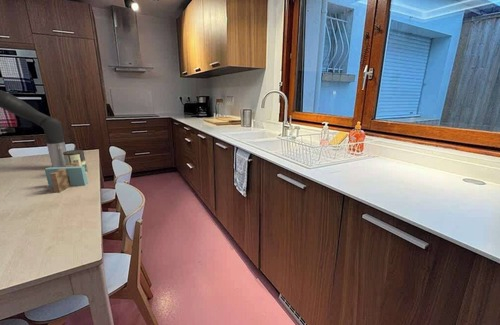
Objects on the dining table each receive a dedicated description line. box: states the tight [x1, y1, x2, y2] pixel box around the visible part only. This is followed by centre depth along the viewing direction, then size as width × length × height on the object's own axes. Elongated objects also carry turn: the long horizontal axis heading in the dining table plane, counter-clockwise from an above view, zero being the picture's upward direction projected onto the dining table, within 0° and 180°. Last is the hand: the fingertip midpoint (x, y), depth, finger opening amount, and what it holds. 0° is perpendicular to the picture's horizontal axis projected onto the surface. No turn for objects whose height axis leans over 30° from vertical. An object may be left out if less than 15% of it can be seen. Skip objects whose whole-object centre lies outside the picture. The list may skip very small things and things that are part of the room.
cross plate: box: [44, 166, 89, 188], centre depth 128 cm, size 3×18×10 cm, turn 96°
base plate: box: [50, 162, 79, 193], centre depth 128 cm, size 20×2×10 cm, turn 6°
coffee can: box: [63, 149, 88, 174], centre depth 147 cm, size 10×10×14 cm
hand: (7, 131), depth 119 cm, fingers open, 8 cm apart
